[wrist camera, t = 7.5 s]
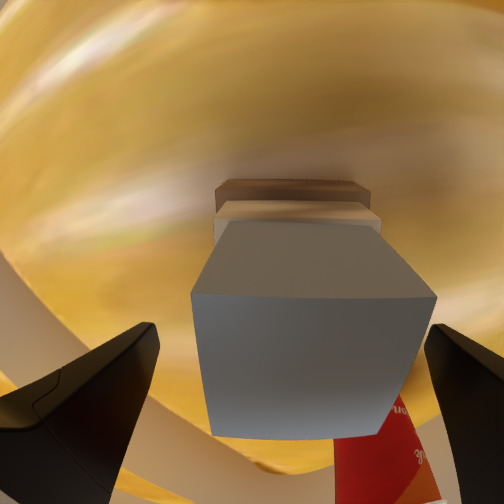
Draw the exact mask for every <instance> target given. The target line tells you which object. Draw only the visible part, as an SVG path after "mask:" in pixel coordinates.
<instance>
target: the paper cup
mask: <svg viewBox="0 0 504 504" xmlns="http://www.w3.org/2000/svg"><path fill="white" fill-rule="evenodd" d="M333 440H334V465H335V504H447V500H446V499H441V496H440V493H439V490H438V487H437V484H436V482H435V479H434V476H433V473H432V471H431V468H430V465H429V463H428V460H427V457H426V455H425V452H424V450H423V447H422V445H421V442H420V440H419V437H418V435H417V433H416V430H415V428H414V426H413V423H412V421H411V419H410V416H409V414H408V412H407V410H406V408H405V405H404V403H403V401H402V399H401V397H400V395H399V394H398V396H397V398H396V400H395V402H394V404H393V406H392V408H391V410H390V412H389V413H388V415H387V417H386V419H385V421H384V422H383V424H382V426H381V428H380V429H379V431H378V433H377V434H374V435H367V436H358V437H348V438H336V439H333Z"/></svg>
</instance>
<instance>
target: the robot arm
mask: <svg viewBox="0 0 504 504" xmlns="http://www.w3.org/2000/svg"><path fill="white" fill-rule="evenodd" d="M159 351H160V341H159V337H158V333H157V329H156V326H155V324H154V323H151V322H141V323H139V324H137V325H136V326H134V327H132V328H130V329H129V330H127V331H125V332H123V333H122V334H120V335H118V336H116V337H115V338H113V339H111V340H109V341H107V342H106V343H104V344H102V345H100V346H99V347H97V348H95V349H93V350H91V351H90V352H88V353H86V354H84V355H83V356H81V357H79V358H77V359H75V360H74V361H72V362H70V363H68V364H67V365H65V366H63V367H62V368H61V369H57V370H56V371H54V372H52V373H50V374H48V375H47V376H45V377H43V378H41V379H39V380H37V381H35V382H33V383H31V384H28V385H26V386H24V387H22V388H19V389H17V390H15V391H13V392H10V393H8V394H6V395H3V396H1V397H0V504H109V501H110V498H111V494H112V491H113V488H114V485H115V482H116V479H117V476H118V473H119V470H120V468H121V464H122V462H123V459H124V456H125V453H126V450H127V447H128V445H129V442H130V439H131V436H132V434H133V431H134V428H135V425H136V422H137V420H138V417H139V415H140V412H141V409H142V407H143V404H144V401H145V398H146V396H147V394H148V391H149V388H150V385H151V381H152V377H153V373H154V369H155V365H156V362H157V358H158V354H159ZM424 351H425V355H426V359H427V363H428V367H429V371H430V375H431V380H432V384H433V388H434V391H435V394H436V397H437V400H438V403H439V406H440V410H441V413H442V416H443V420H444V423H445V427H446V430H447V434H448V438H449V442H450V446H451V450H452V454H453V458H454V463H455V468H456V472H457V477H458V483H459V487H460V495H461V502H462V504H504V358H503V357H501V356H499V355H498V354H496V353H494V352H492V351H491V350H489V349H487V348H486V347H484V346H482V345H480V344H479V343H477V342H475V341H473V340H472V339H470V338H468V337H466V336H464V335H463V334H461V333H459V332H457V331H456V330H454V329H452V328H450V327H448V326H447V325H445V324H434V325H432V326H431V328H430V331H429V333H428V336H427V339H426V341H425V345H424Z"/></svg>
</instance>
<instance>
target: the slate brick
mask: <svg viewBox="0 0 504 504" xmlns="http://www.w3.org/2000/svg"><path fill="white" fill-rule="evenodd" d="M436 300H437V296H436V295H435V293H434V292H433V291H432V290H431V289H430V288H429V287H428V285H427V284H426V283H425V282H424V281H423V280H422V279H421V278H420V276H419V275H418V274H417V273H416V272H415V271H414V270H413V269H412V268H411V267H410V266H409V265H408V263H407V262H406V261H405V260H404V259H403V258H402V257H401V256H400V255H399V254H398V253H397V252H396V251H395V250H394V249H393V248H392V247H391V246H390V245H389V244H388V243H387V242H386V241H385V240H384V239H383V238H382V237H381V236H380V235H379V234H378V233H377V232H376V231H375V230H374V229H373V228H372V227H371V226H359V225H340V224H318V223H292V222H260V221H229V222H228V224H227V226H226V228H225V230H224V231H223V233H222V235H221V237H220V239H219V241H218V242H217V244H216V246H215V248H214V250H213V252H212V253H211V255H210V257H209V259H208V261H207V263H206V265H205V267H204V268H203V270H202V272H201V274H200V276H199V278H198V280H197V282H196V284H195V285H194V287H193V289H192V291H191V302H192V311H193V319H194V327H195V335H196V342H197V349H198V356H199V363H200V369H201V376H202V382H203V388H204V394H205V400H206V405H207V411H208V416H209V422H210V427H211V432H212V435H213V436H222V437H232V438H244V439H261V440H319V439H336V438H348V437H358V436H367V435H374V434H377V433H378V431H379V429H380V428H381V426H382V424H383V422H384V421H385V419H386V417H387V415H388V413H389V412H390V410H391V408H392V406H393V404H394V402H395V400H396V398H397V396H398V394H399V392H400V390H401V388H402V386H403V384H404V382H405V380H406V378H407V376H408V373H409V371H410V369H411V367H412V365H413V362H414V360H415V358H416V355H417V353H418V350H419V348H420V345H421V343H422V340H423V338H424V335H425V332H426V330H427V327H428V324H429V321H430V319H431V316H432V313H433V310H434V307H435V304H436Z"/></svg>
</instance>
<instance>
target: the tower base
mask: <svg viewBox="0 0 504 504" xmlns="http://www.w3.org/2000/svg"><path fill="white" fill-rule="evenodd" d="M370 193H371V192H370V191H368V190H366V189H365V188H363V187H361V186H359V185H358V184H356V183H354V182H352V181H332V180H293V179H253V180H227V181H225V182H224V183H223V184H222V185H221V186H219V187H218V188H217V189H216V190H215V198H216V215H215V216H214V218H213V226H214V241H215V246H216V244H217V242H218V241H219V239H220V237H221V235H222V233H223V231H224V230H225V228H226V226H227V224H228V222H229V221H260V222H292V223H318V224H340V225H359V226H371V227H372V228H373V229H374V230H375V231H376V232H377V233H378V234H379V235H381V226H382V219H380V218H379V217H378V216H377V215H375V214H374V213H373V212H372V211H370V210H369V207H370Z"/></svg>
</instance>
